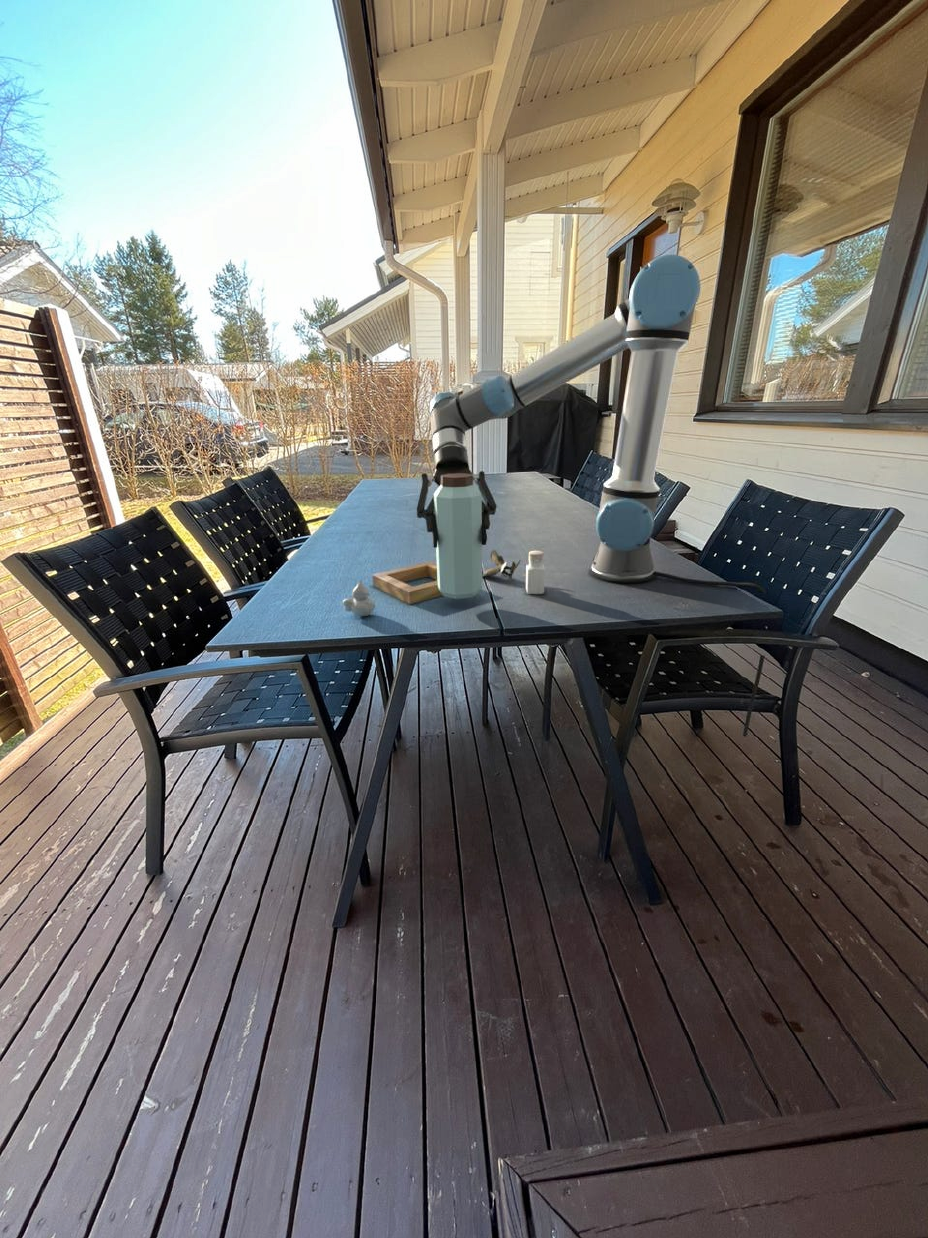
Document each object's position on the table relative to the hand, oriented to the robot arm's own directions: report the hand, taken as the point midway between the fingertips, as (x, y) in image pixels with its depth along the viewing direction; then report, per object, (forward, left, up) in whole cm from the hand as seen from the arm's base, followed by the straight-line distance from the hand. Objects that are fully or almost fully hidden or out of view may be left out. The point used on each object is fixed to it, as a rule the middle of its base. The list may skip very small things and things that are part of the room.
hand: (460, 542), depth 108 cm
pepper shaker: (-2, -20, -15) cm, 25 cm away
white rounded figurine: (+12, +18, -15) cm, 26 cm away
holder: (+19, -2, -15) cm, 24 cm away
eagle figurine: (+12, -21, -15) cm, 28 cm away
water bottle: (+3, -2, -12) cm, 12 cm away
